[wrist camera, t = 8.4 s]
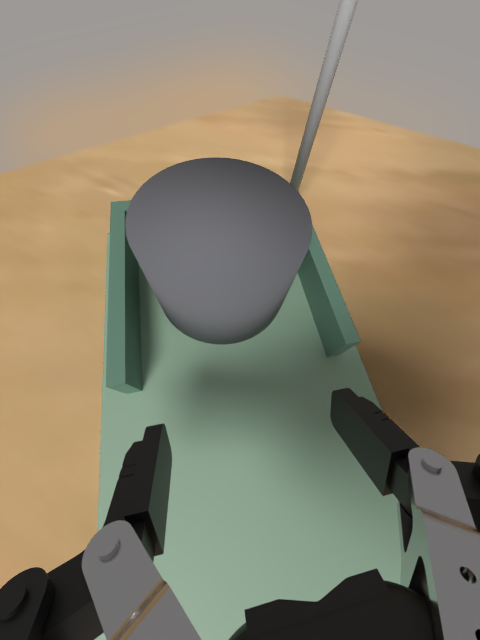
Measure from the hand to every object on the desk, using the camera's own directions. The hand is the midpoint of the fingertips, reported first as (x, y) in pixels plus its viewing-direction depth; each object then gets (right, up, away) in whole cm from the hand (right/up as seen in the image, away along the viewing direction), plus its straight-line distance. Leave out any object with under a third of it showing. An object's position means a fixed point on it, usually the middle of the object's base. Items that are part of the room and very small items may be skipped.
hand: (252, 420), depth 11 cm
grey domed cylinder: (-2, +7, +8) cm, 11 cm away
